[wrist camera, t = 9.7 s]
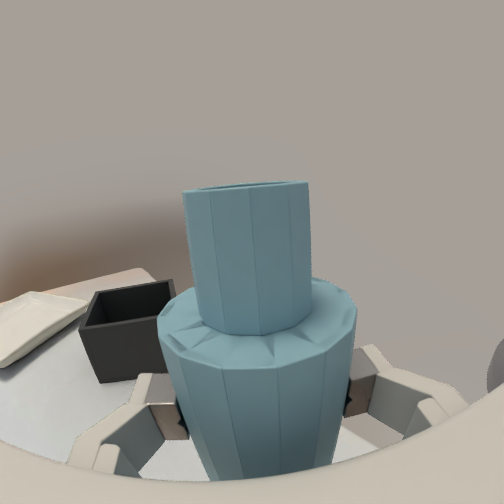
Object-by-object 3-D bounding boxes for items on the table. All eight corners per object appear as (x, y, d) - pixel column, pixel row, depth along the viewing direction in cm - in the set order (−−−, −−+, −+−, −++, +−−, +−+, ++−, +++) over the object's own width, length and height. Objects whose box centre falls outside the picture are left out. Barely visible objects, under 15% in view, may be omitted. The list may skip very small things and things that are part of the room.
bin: (181, 324, 47) (172, 278, 45) (193, 368, 35) (180, 313, 33) (108, 336, 43) (95, 291, 41) (99, 383, 31) (77, 330, 29)
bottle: (295, 445, 13) (292, 178, 9) (339, 506, 8) (408, 182, 5) (210, 470, 12) (139, 195, 8) (239, 543, 7) (119, 208, 3)
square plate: (4, 383, 26) (-6, 363, 25) (-38, 345, 32) (-44, 329, 31) (95, 314, 52) (91, 297, 51) (33, 302, 58) (29, 288, 57)
